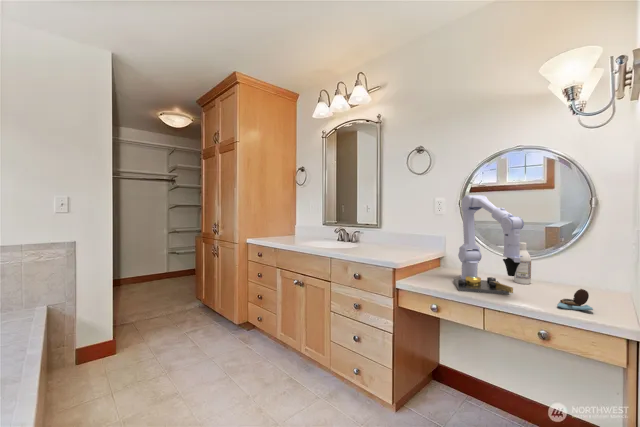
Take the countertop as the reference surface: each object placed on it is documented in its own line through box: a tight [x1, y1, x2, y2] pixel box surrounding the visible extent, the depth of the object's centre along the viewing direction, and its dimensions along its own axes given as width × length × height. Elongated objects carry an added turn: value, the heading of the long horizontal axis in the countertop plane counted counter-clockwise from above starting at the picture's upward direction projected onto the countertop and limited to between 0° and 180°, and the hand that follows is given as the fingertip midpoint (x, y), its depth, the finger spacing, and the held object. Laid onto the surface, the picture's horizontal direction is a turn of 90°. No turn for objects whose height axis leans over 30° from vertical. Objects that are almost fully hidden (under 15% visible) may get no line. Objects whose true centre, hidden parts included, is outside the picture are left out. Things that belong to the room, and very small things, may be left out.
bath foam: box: [513, 242, 532, 285], centre depth 144 cm, size 7×7×20 cm
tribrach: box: [452, 276, 510, 296], centre depth 137 cm, size 17×20×5 cm
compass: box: [559, 288, 590, 307], centre depth 113 cm, size 8×8×7 cm
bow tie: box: [557, 302, 594, 311], centre depth 108 cm, size 10×2×5 cm
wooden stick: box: [489, 280, 514, 294], centre depth 129 cm, size 12×4×2 cm, turn 11°
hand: (511, 275), depth 125 cm, fingers closed
